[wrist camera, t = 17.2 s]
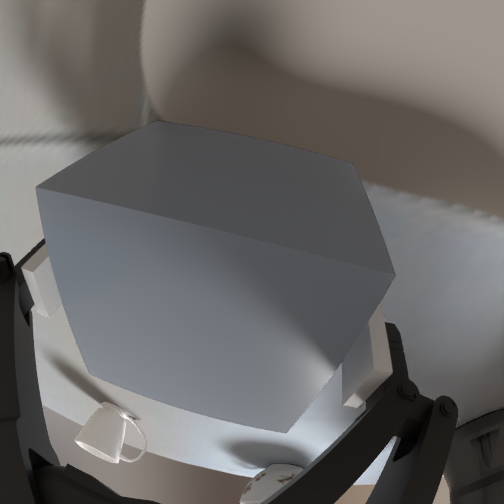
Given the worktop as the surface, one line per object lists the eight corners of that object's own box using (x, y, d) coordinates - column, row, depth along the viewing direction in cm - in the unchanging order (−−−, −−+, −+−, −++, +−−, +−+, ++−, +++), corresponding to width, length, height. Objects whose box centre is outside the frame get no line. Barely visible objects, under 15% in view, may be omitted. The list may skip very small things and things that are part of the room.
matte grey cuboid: (353, 163, 14) (395, 275, 7) (299, 309, 20) (286, 433, 13) (156, 120, 14) (35, 186, 7) (152, 271, 20) (89, 374, 13)
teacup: (284, 452, 36) (276, 502, 30) (339, 468, 39) (336, 511, 33) (225, 463, 44) (215, 502, 38) (278, 480, 47) (272, 515, 41)
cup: (96, 391, 36) (73, 436, 29) (159, 423, 37) (141, 470, 31) (93, 404, 40) (74, 444, 33) (148, 432, 41) (133, 473, 35)
